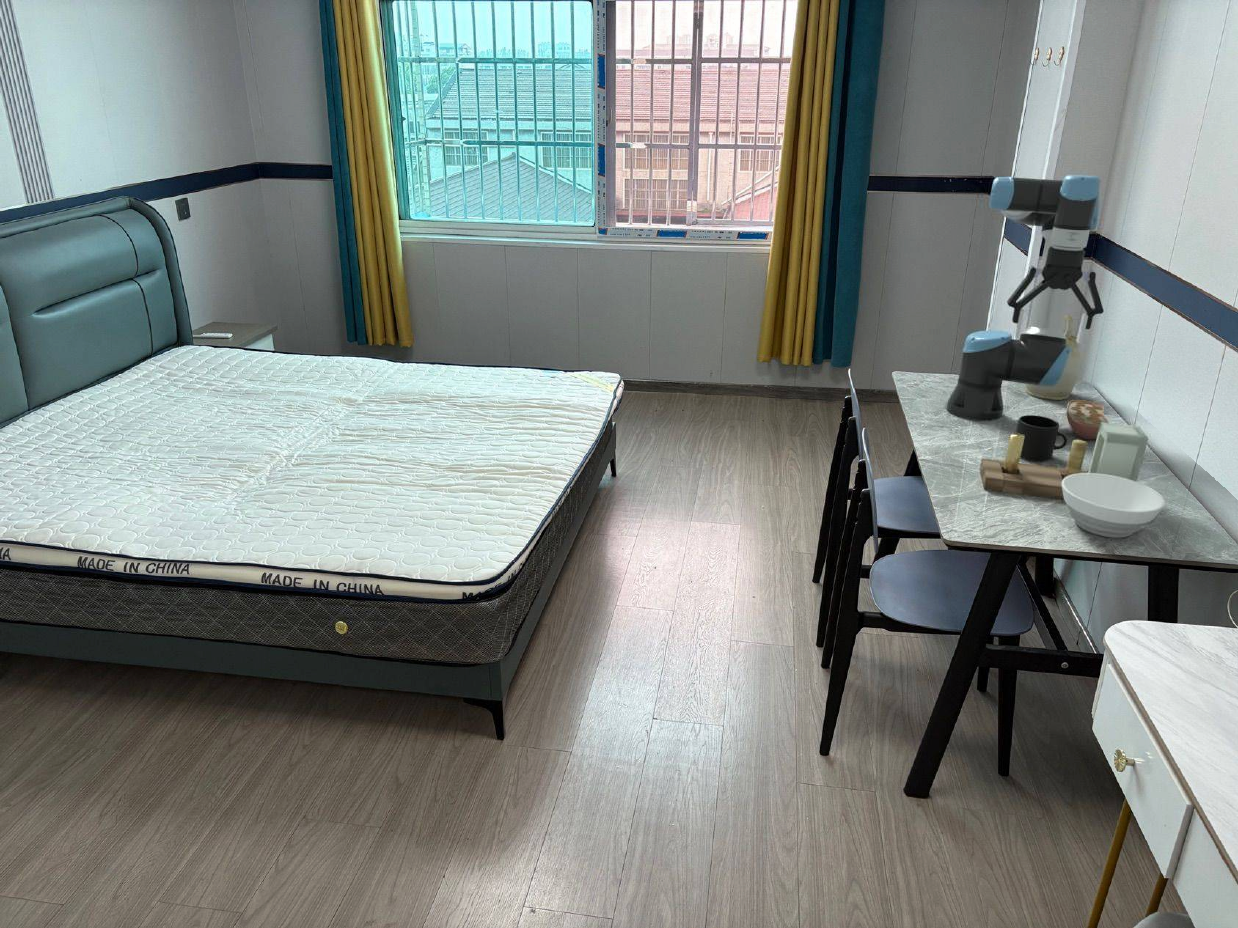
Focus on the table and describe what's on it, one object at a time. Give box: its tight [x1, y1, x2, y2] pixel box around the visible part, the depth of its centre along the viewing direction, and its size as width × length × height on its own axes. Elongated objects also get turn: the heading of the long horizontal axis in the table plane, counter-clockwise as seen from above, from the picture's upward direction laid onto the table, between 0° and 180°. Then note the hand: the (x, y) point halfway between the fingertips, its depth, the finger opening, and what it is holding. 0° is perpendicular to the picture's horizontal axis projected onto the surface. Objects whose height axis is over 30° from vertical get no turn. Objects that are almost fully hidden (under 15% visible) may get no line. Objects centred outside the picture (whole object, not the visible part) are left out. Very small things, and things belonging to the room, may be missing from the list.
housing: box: [1087, 422, 1149, 482], centre depth 203 cm, size 8×8×13 cm
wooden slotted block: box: [979, 439, 1089, 501], centre depth 207 cm, size 12×30×12 cm, turn 74°
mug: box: [1015, 414, 1068, 462], centre depth 226 cm, size 9×12×9 cm
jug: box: [1025, 313, 1083, 401], centre depth 270 cm, size 15×16×25 cm
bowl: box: [1062, 473, 1166, 539], centre depth 190 cm, size 19×20×8 cm
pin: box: [1003, 432, 1025, 475], centre depth 209 cm, size 3×3×12 cm
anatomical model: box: [1066, 399, 1110, 440], centre depth 246 cm, size 23×10×5 cm, turn 158°
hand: (1047, 339), depth 210 cm, fingers open, 13 cm apart
